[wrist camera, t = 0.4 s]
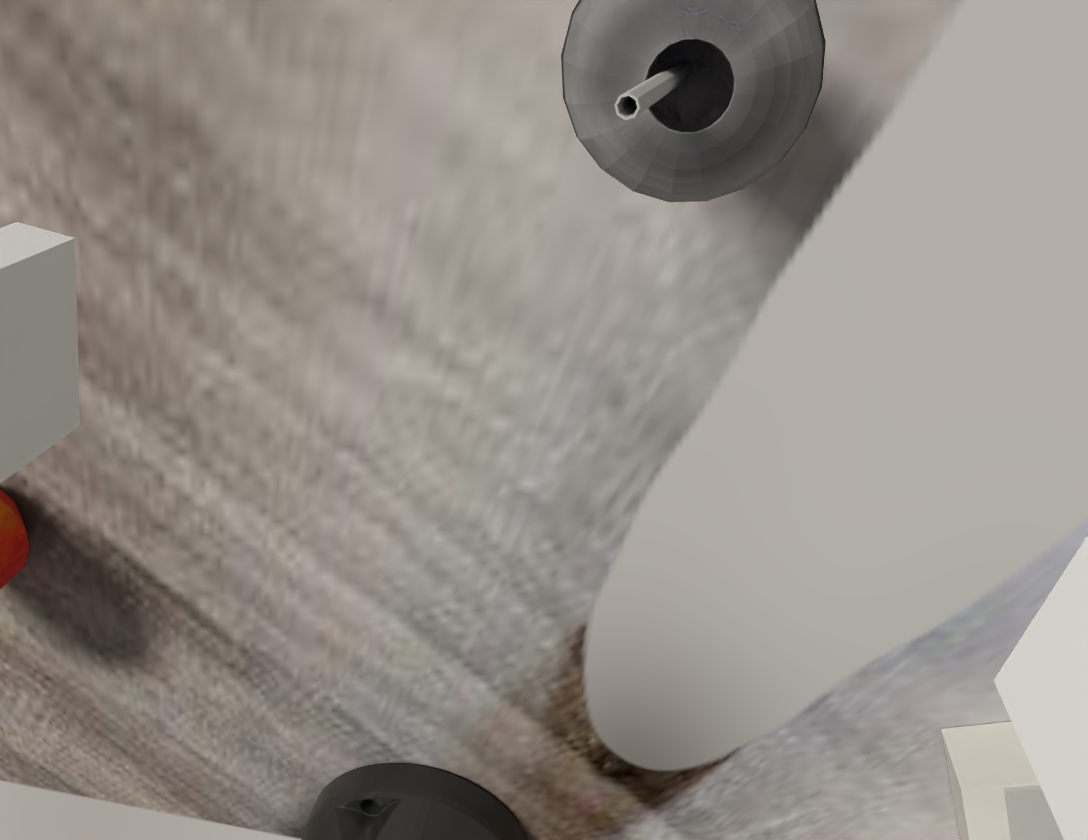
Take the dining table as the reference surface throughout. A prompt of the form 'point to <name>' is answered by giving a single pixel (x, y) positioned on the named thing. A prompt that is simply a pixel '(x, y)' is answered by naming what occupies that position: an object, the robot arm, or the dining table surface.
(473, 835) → the robot arm
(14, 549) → the apple
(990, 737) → the switch box
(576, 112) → the beverage cup
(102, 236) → the dining table surface
